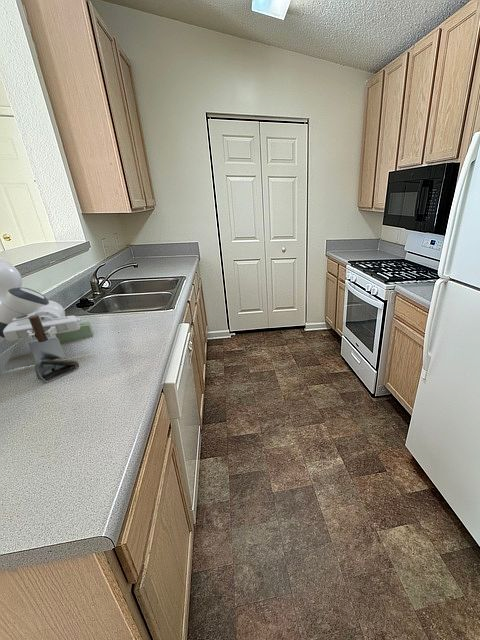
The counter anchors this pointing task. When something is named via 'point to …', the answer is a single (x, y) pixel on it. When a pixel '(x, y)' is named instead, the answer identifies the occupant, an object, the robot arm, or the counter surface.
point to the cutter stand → (77, 333)
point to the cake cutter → (44, 343)
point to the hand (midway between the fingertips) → (40, 335)
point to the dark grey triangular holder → (54, 369)
